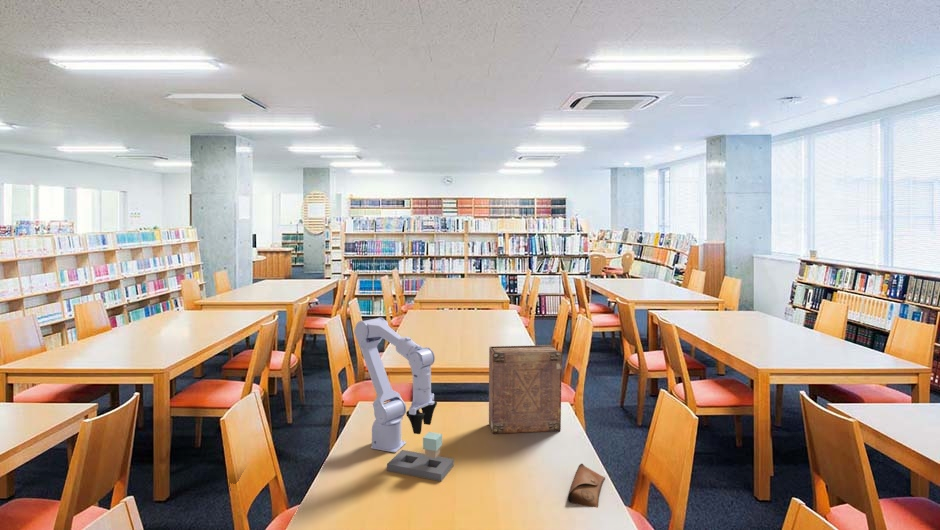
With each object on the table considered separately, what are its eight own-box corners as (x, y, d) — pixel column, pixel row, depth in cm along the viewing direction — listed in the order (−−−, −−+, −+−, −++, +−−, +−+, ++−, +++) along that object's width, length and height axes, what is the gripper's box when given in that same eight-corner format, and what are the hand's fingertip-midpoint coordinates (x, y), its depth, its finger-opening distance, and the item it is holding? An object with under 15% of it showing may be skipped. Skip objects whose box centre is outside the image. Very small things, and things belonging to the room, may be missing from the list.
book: (553, 421, 188) (555, 344, 186) (560, 431, 179) (562, 351, 177) (488, 424, 185) (489, 346, 183) (492, 434, 176) (493, 352, 174)
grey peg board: (387, 470, 150) (387, 463, 150) (402, 456, 159) (402, 449, 159) (441, 481, 144) (441, 474, 144) (453, 465, 153) (453, 459, 153)
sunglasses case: (599, 508, 130) (587, 485, 131) (576, 516, 133) (564, 493, 134) (606, 476, 147) (595, 456, 148) (585, 484, 150) (574, 464, 150)
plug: (423, 456, 148) (422, 437, 148) (429, 450, 152) (429, 431, 152) (436, 459, 147) (436, 439, 146) (442, 452, 151) (442, 434, 150)
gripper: (423, 395, 147) (424, 439, 148) (442, 381, 160) (442, 421, 161) (402, 393, 149) (403, 436, 150) (422, 379, 163) (423, 419, 164)
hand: (422, 428), depth 156 cm, fingers open, 7 cm apart
